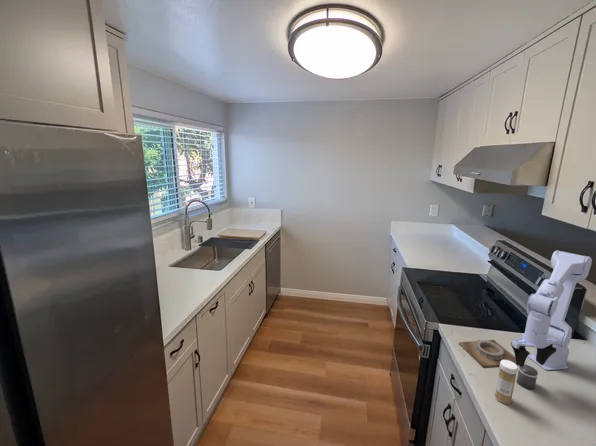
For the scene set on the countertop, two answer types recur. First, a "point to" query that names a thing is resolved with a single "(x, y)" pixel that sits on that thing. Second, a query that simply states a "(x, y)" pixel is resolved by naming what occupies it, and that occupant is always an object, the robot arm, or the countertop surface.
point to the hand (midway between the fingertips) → (529, 363)
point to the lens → (527, 377)
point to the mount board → (484, 360)
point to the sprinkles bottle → (506, 381)
